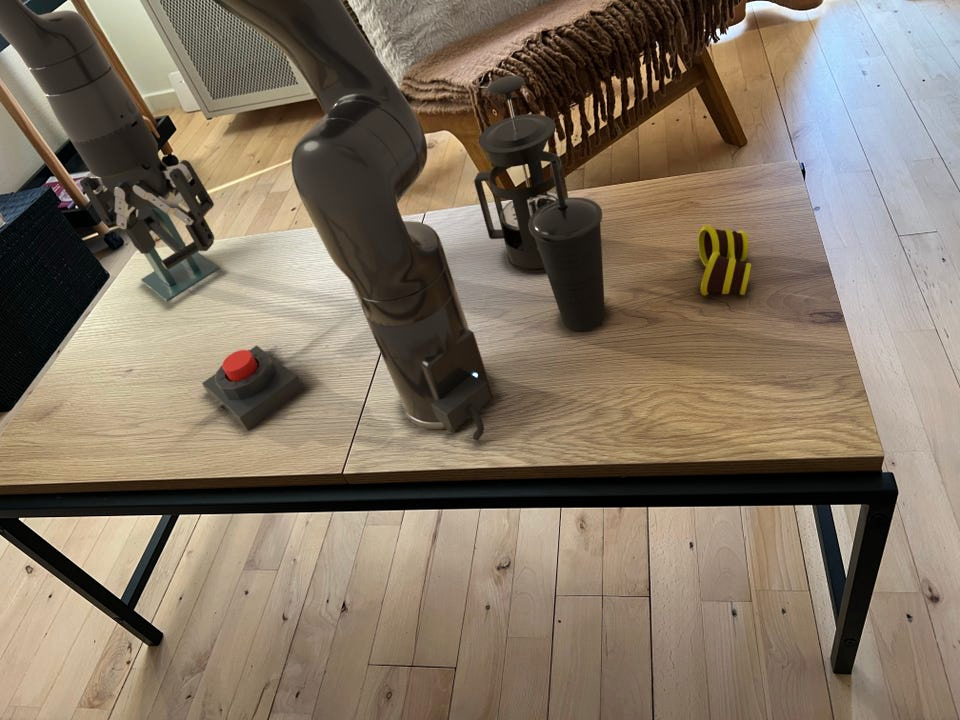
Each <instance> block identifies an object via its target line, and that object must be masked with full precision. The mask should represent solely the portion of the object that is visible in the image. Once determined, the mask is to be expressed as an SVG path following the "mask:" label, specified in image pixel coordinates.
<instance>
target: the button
mask: <svg viewBox="0 0 960 720" xmlns="http://www.w3.org/2000/svg"><path fill="white" fill-rule="evenodd" d="M248 350H249V349H240V350H236V351H234V352H232V353H231V354H229V355H227V356H226V357H225V358H224V360H223V361H222V364H221V365H222V367H223V369H224V371H225V373H226V374H227V376H228V378H229V379H230V380H231V381H235V382H237V381H240V380H243V379H246V378H248V377H249V376H251V375H252V374H253V373H255V371H256V370H257V368H258V364H257V362H256V360H255V359H254V357H253V355H252V353H251V352H250V351H248Z"/></svg>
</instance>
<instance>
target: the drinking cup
mask: <svg viewBox="0 0 960 720" xmlns="http://www.w3.org/2000/svg"><path fill="white" fill-rule="evenodd" d="M550 167H551V172H552V176H553V177H554V182H555V187H554V189H555V193H557V198H558V200H555V201H552V202H550V203H548V204H545V205H544V206H542V207H540V208H539V209H538V210H536V211H535V212H534V213H533V214H532V216H531V217H530V220H529V224H528V226H529V230H530V233H531V234H532V235H533V236H534V237H535V240H536V243H537V246H538V250H539V252H540V255H541V258H542V261H543V264H544V267H545V270H546V272H545V273H546V276H547V279H548V281H549V285H550V288H551V291H552V294H553V297H554V299H555V303H556V305H557V306H556V307H557V308H558V311H559V314H560V317H561V320H562V323H563V325H564V326H565V328H566V329H568V330H570V331H572V332H578V333H583V332H589V331H592V330H594V329H597V328H598V327H599V326H601V324H602V323H603V322H604V321H605V318H606V307H605V288H604V268H603V265H604V264H603V248H602V247H603V246H602V229H601V228H602V227H601V223H602V220H603V210H602V208H601V206H600V204H598V203H597V202H596V201H594V200H592V199H589V198H586V197H579V196H578V197H575V196H574V197H573V196H571V197H568V198H564V193H563V188H562V183H561V177H560V172H559V166H558V162H557V161H552V162H550Z"/></svg>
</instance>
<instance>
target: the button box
mask: <svg viewBox="0 0 960 720" xmlns="http://www.w3.org/2000/svg"><path fill="white" fill-rule="evenodd" d="M247 350H248V351H250V352H251V353H252V355H253V357H254V359H255V360H256V362H257V364H258V368H257V370H256V371H255V373H253V374H252V375H251V376H249V377H248V378H246V379H243V380H240V381H237V382H235V381H231V380H230V379H229V378H228V376H227V374H226V373H225V371H224V369H223V367H222V364H221V366H219V368H218V370H217V371H216V372H215V373H214V374H213V375H211V376H210V377H208V378H207V379H206V380H204V381H203V382H201V385H202V386H203V388H204V390H205V391H206V392H207V393H208V394H209V395H210V396H211V397H213V399H215V400H216V401H217V402H218V403H219V404H220V407H221V408H222V409H223V410H224V411H225V412H226V413H228V414H229V415H230V416H231V417H232V418H233V419H234V420H235V421H236V422H237V423H238V424H240V425H241V427H243V428H244V429H245V430H246V431H247V432H248V431H250V430H251V429H253V428H254V427H256V425H258V424H259V423H261V422H262V421H263V420H264V419H266V418H267V417H269V416H270V415H271V414H273V413H274V412H275V411H277V410H278V409H280V408H281V407H282V406H284V405H285V404H286V403H288V402H289V401H290V400H292V399H293V398H295V397H296V396H297V395H299V394H300V393H301V392H303V391H304V390H305V388H304V385H303V384H302V381H301V380H300V379H299V377H298V375H296V374H295V373H294V372H292V371H291V369H289V368H287V367H286V366H284V365H283V364H282V363H280V361H278V360H277V359H275V358H274V357H273V356H271V355H270V354H269V353H267V352H266V351H264V349H262V348H261V347H259V346H258V345H255V346H254V347H252V348H251V349H247Z"/></svg>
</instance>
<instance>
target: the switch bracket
mask: <svg viewBox="0 0 960 720" xmlns="http://www.w3.org/2000/svg"><path fill="white" fill-rule="evenodd" d="M150 209H151V210H152V211H153V212H154V213H155V215H156V217H157V219H158V221H159V223H160V226H161V227H162V228H163V229H164V230H165V231H166V232H167V233H169V234H170V235H171V236H172V237H173V238H174V239H175V240H176V241H177V242H178V243H179V244H180V245H181V246H182V247H183V248H184V247H185V246H187V245H186V243H185V241H184V240H183V238H182V236H181V234H180V233H179V231H178V229H177V227H176V226H175V224H174V222H173V221H172V219H171V217H170V214H166V213H165V212H163V211H162V210H161V209H159V208H150ZM143 255H144V257H145V259H146V260H147V262H148V264H149V265H150V266H151V268H152V270H153V271H152V272H151V273H148V274H147V275H145V276H144V277H142V278H141V279H140V282H141V283H143V284H144V285H145V286H147V287H148V288H149V289H150V290H152V291H153V292H154V293H155V294H157V295H158V296H159V297H160V298H161V299H163V300H164V301H165V302H169V301H171V300H172V299H174V298H176V297H177V296H179V295H180V294H182V293H183V292H185V291H186V290H188V289H190V288H191V287H193V286H195V285H196V284H198V283H199V282H201V281H202V280H204V279H205V278H207V277H209V276H210V275H212V274H214V273H215V272H216V271H218V270H220V267H219V266H218V265H216V264H215V263H213V262H212V261H210V260H209V259H207V258H206V257H204V256H202V255H201V254H199V252H197V253H195V254H193V255H192V256H190V257H189V258H187V259H185V260H184V261H182V262H180V263H179V264H177V265H175V266H174V267H172V268H170V269H169V270H166V269H165V267H164V266H163V265H162V263H161V261H162V260H163V259H162V257H161V256H160V254H159V253H158V251H157V249H156V248H155V247H154V248H153V249H152V250H151V251H150V252H149V253H148V254H143Z"/></svg>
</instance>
